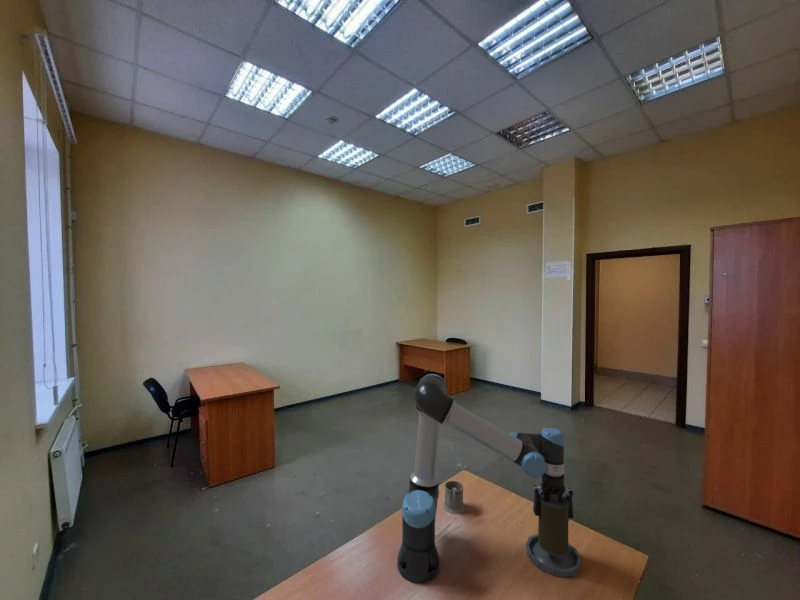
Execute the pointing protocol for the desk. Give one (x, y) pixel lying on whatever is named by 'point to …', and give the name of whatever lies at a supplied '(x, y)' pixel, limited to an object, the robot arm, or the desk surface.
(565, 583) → the desk surface
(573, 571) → the round tray
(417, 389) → the robot arm
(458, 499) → the mug
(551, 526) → the canister
